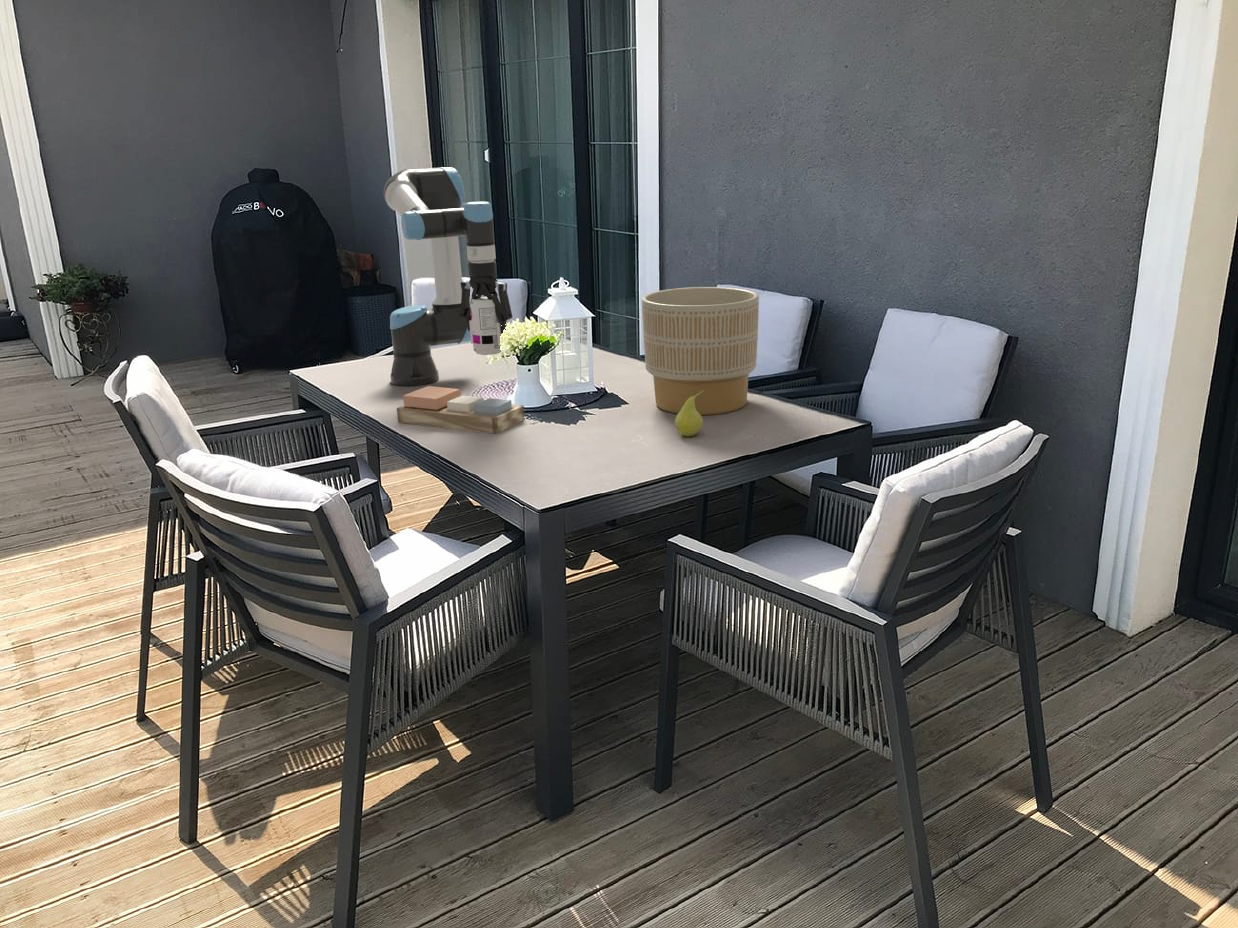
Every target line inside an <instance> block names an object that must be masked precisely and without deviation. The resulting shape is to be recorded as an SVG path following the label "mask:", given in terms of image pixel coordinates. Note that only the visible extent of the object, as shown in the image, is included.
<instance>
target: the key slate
mask: <svg viewBox="0 0 1238 928" xmlns="http://www.w3.org/2000/svg"><path fill="white" fill-rule="evenodd" d="M483 400H484V399H483ZM512 404H513V403H512V400H510V399H503V398H502V399H501V398H500V399H499V398H493V397H489V398H486V399H485V400H484V401H482V402H480V403H477V404H475V413H478V414H487V415H496V416H498V415H501V414H503V413H505V412H507V411H509V410H511V409H512Z"/></svg>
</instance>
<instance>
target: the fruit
mask: <svg viewBox="0 0 1238 928" xmlns="http://www.w3.org/2000/svg"><path fill="white" fill-rule="evenodd" d="M704 391H705V390H704V389H703V390H702V391H701V392H700V393H698V394H696V395H695V396H692V397H690V398H689V399H688V400H687V401H686V402H685V404H684V406H683V407H682V409H681V410H680V412H679V413H678V414H677V415H676V416H675V421H674V424H675V427H676V428H675V429H676V430H677V431H678V433H679V434H680V435H681V436H684V437H693V436H695V435H697V434H698V433H700V432H701V429H702V428H703V425H704V419H703V415H700V414H699V413H698V412H697V411H696V408H695V397H696V396H698V395H699V394H701V393H703V392H704Z"/></svg>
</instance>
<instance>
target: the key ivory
mask: <svg viewBox="0 0 1238 928" xmlns="http://www.w3.org/2000/svg"><path fill="white" fill-rule="evenodd" d="M482 401H484V397H481V396H472V395H470V396H469V395H463V394H462V395H461V396H459V397H457V398H455V399H452V400H450V401H447V408H448V410H450V411H459V412H469V413H470V412H472V411H474V410H475V404H477V403H480V402H482Z"/></svg>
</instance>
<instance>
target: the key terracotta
mask: <svg viewBox="0 0 1238 928" xmlns="http://www.w3.org/2000/svg"><path fill="white" fill-rule="evenodd" d="M459 396H462V395H461V389H460V388H452V387H442V386H441V387H439V386H431V385H427V386H425V387H422V388H418V389H417V390H413V391H411V392H409V393H406V394H404V395H403V397H402V398H403V405H404V406H407V407H416V408H418V409H419V410H428V411H437V412H438V411H439V410H441V409H444V408H446V407H447V401H450V400H452V399H455V398H457V397H459Z"/></svg>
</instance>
